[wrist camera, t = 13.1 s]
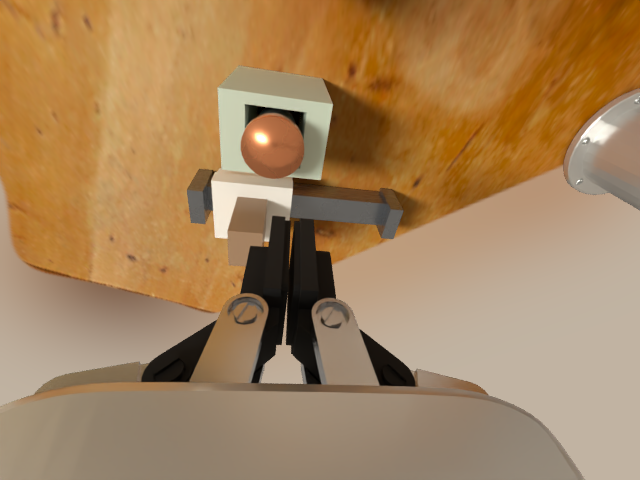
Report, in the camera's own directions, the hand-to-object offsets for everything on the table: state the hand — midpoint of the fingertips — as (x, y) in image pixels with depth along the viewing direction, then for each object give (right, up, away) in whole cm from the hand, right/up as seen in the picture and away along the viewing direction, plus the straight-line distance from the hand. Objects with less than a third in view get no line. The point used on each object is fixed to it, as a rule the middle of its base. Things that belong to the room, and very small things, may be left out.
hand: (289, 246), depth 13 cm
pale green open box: (-3, +14, +18) cm, 23 cm away
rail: (-1, +6, +25) cm, 25 cm away
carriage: (-6, +5, +23) cm, 24 cm away
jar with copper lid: (-2, +10, +13) cm, 16 cm away
